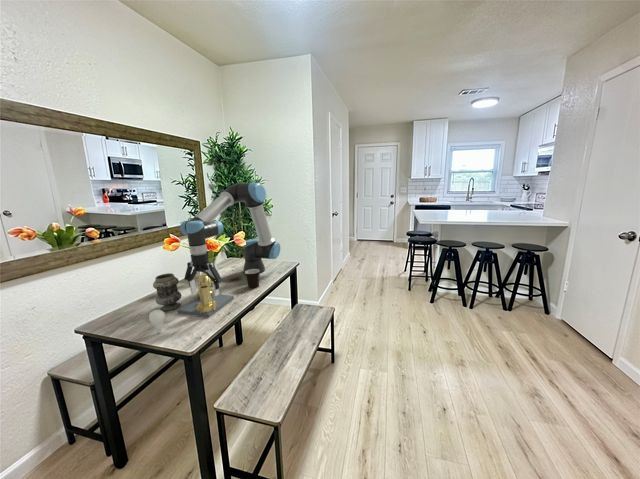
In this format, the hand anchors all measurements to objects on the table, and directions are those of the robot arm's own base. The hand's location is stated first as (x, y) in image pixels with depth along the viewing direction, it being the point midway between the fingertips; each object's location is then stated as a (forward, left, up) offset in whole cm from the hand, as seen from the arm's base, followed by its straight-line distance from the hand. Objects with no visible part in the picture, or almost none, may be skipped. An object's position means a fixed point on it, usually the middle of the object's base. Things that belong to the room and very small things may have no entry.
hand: (205, 294), depth 137 cm
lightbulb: (+21, -9, -10) cm, 25 cm away
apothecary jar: (0, -24, -10) cm, 26 cm away
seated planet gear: (-12, -11, -8) cm, 18 cm away
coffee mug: (-36, +6, -10) cm, 38 cm away
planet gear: (0, 0, -8) cm, 8 cm away
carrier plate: (-6, -5, -10) cm, 13 cm away
